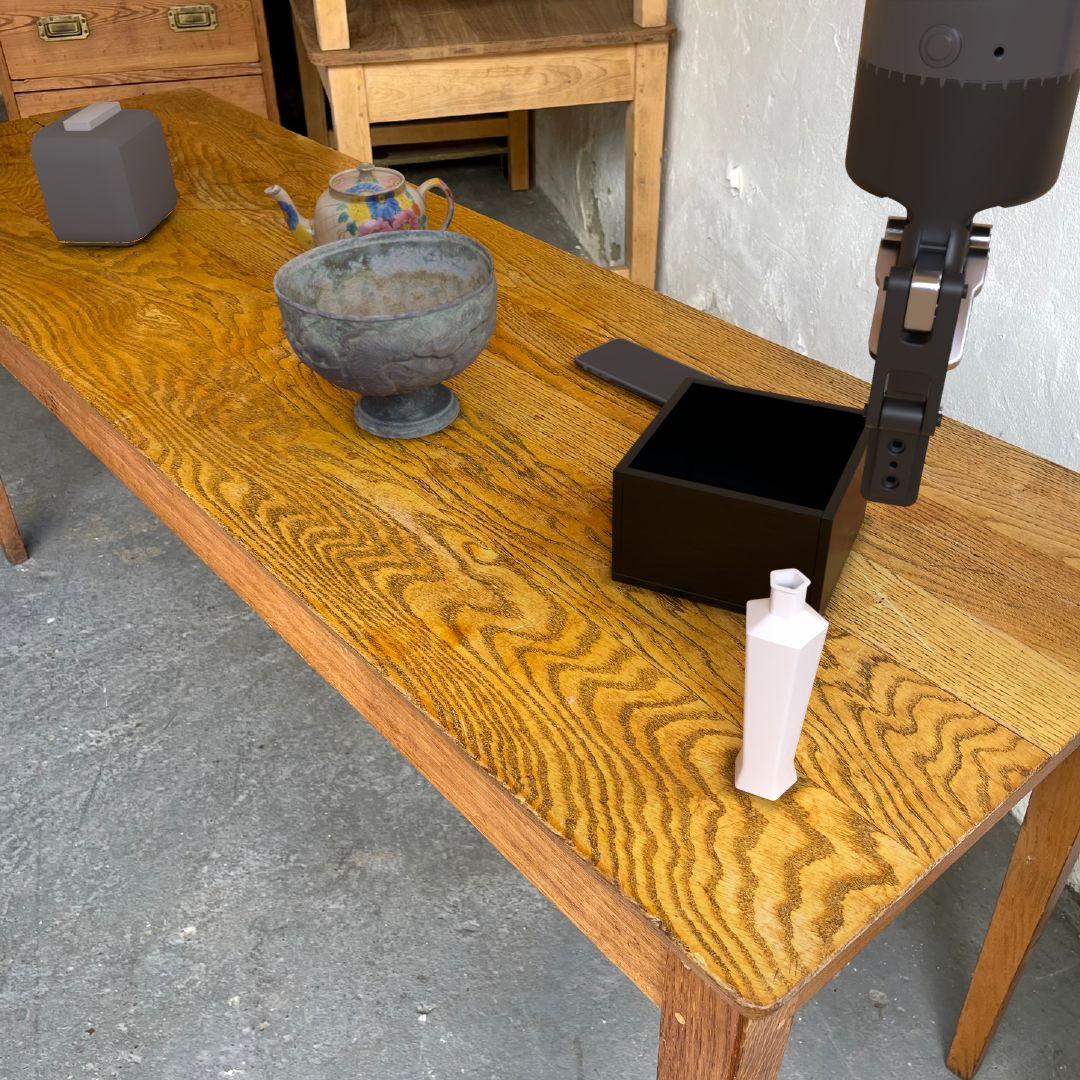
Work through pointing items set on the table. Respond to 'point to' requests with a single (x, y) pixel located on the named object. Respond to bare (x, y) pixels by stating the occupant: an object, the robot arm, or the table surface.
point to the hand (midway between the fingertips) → (898, 448)
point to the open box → (739, 495)
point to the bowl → (391, 322)
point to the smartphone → (638, 369)
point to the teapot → (361, 206)
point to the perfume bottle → (777, 683)
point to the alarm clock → (104, 174)
